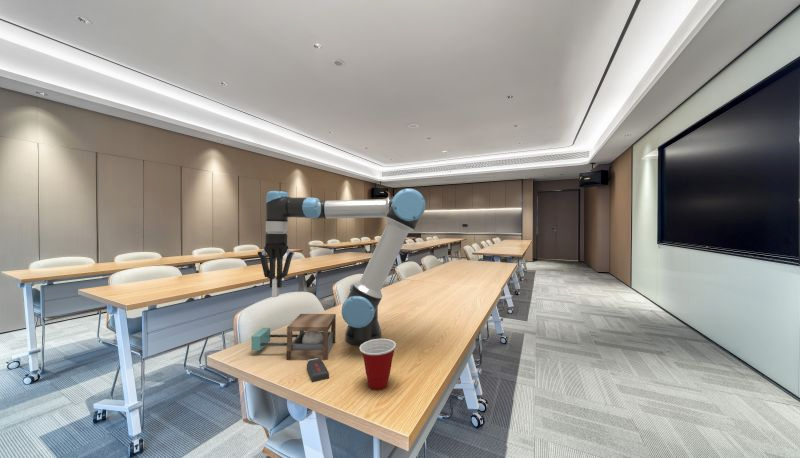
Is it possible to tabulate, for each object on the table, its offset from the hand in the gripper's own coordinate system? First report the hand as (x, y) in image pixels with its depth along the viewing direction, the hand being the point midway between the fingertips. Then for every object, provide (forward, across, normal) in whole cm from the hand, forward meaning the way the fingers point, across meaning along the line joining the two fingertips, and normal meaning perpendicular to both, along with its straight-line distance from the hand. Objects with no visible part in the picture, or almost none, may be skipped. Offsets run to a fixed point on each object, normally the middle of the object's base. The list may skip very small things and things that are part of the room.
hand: (275, 296), depth 107 cm
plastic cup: (+21, -39, +24) cm, 50 cm away
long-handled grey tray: (+20, -7, 0) cm, 21 cm away
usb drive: (+21, -19, +16) cm, 33 cm away
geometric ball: (+21, -14, 0) cm, 25 cm away
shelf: (+20, -14, 0) cm, 25 cm away
